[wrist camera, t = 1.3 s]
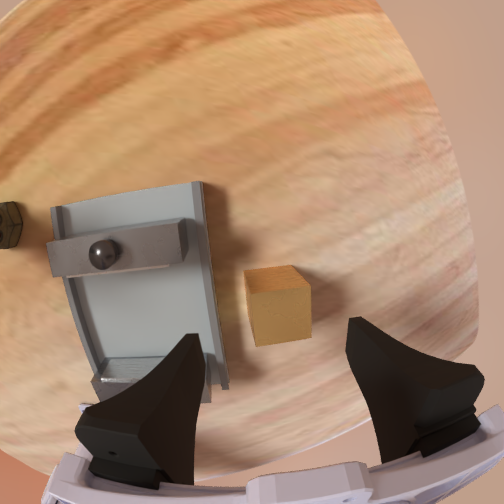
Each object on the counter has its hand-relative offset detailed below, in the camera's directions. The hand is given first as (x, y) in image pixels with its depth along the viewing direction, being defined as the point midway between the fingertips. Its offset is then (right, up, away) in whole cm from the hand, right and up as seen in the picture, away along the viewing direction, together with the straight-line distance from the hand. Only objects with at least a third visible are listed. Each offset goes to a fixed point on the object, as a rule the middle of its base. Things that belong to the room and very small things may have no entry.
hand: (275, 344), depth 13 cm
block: (0, +1, +11) cm, 11 cm away
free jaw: (-11, +5, +7) cm, 14 cm away
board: (-11, 0, +10) cm, 15 cm away
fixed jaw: (-10, -6, +11) cm, 16 cm away
